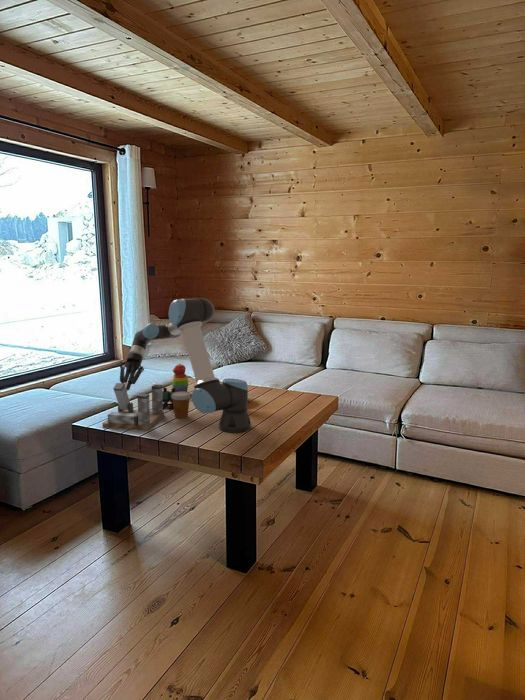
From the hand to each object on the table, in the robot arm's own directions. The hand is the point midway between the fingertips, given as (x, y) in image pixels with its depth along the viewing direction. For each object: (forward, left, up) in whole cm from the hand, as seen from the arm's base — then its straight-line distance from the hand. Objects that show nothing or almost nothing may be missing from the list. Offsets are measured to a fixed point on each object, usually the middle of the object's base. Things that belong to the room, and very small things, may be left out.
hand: (123, 395), depth 243 cm
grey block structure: (-13, -1, -10) cm, 16 cm away
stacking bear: (+19, -41, -10) cm, 46 cm away
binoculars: (-2, -24, -11) cm, 26 cm away
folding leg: (-1, -1, -6) cm, 6 cm away
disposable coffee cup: (-19, -23, -10) cm, 31 cm away
